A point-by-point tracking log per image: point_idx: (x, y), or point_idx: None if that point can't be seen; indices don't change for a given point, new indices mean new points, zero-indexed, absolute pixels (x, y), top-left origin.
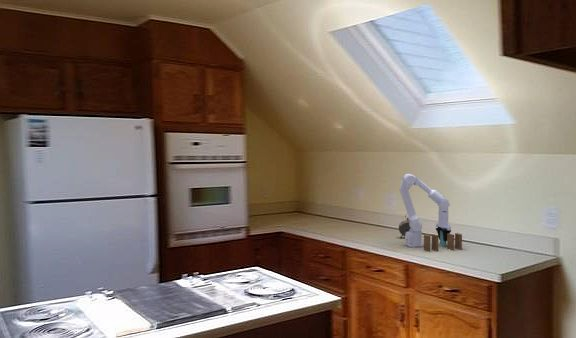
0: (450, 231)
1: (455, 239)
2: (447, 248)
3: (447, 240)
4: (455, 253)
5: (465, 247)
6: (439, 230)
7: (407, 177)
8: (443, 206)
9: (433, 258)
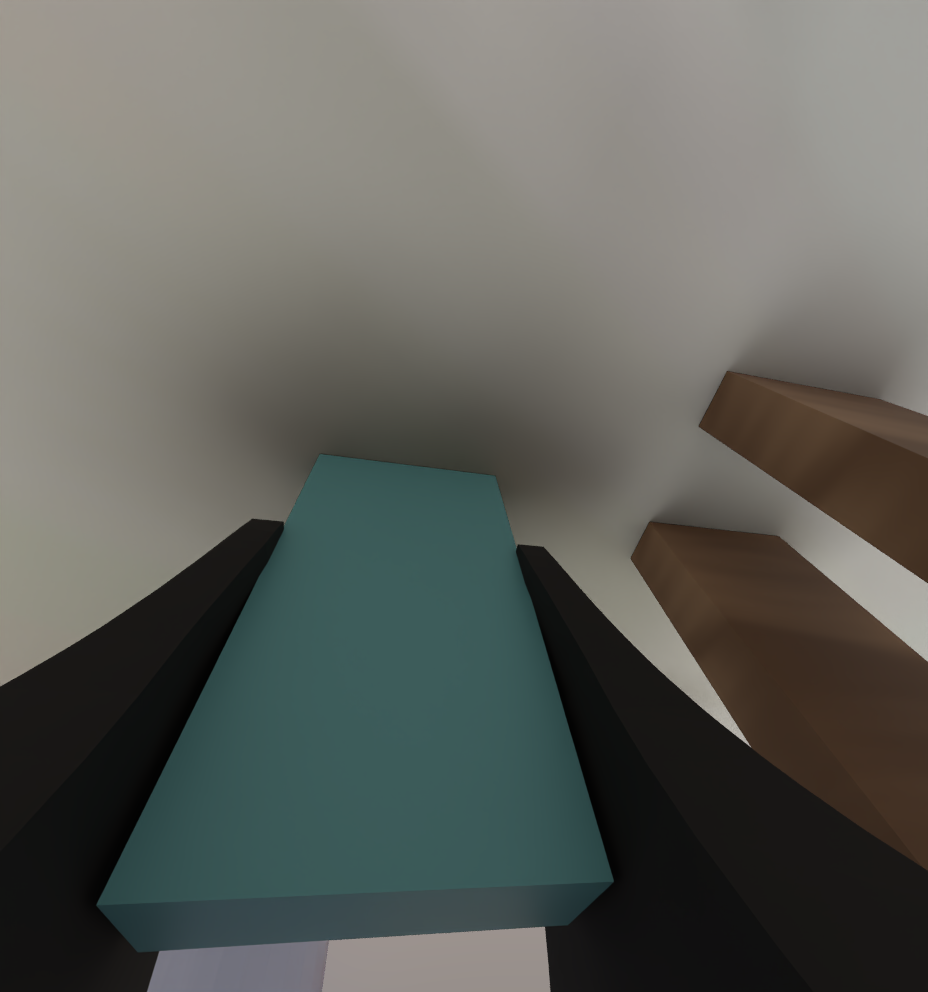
0: (922, 901)
1: (897, 546)
2: (641, 561)
3: (725, 690)
4: (889, 624)
5: (852, 72)
6: (122, 967)
7: None
8: None
9: None
